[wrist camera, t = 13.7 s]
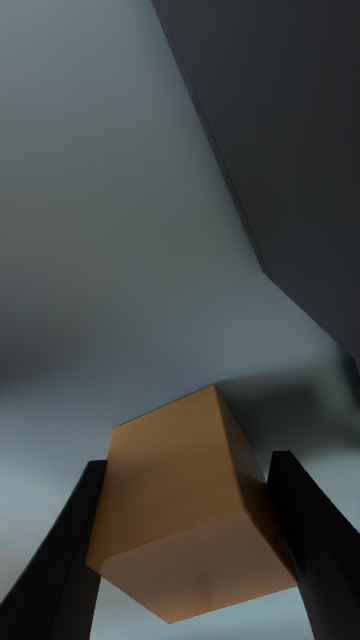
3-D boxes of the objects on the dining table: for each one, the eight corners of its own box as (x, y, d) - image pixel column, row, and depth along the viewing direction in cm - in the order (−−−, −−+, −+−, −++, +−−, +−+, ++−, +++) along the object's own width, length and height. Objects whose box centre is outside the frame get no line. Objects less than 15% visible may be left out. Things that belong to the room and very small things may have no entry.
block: (257, 454, 12) (301, 586, 8) (167, 489, 13) (168, 625, 9) (213, 382, 10) (244, 507, 6) (111, 428, 11) (82, 565, 7)
